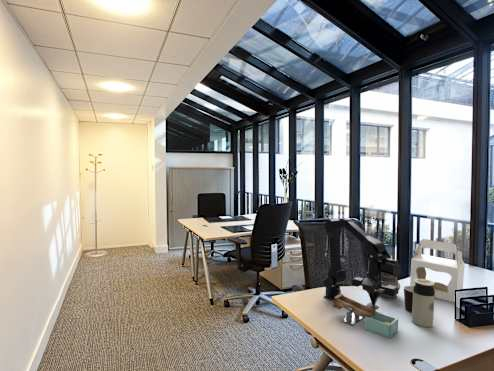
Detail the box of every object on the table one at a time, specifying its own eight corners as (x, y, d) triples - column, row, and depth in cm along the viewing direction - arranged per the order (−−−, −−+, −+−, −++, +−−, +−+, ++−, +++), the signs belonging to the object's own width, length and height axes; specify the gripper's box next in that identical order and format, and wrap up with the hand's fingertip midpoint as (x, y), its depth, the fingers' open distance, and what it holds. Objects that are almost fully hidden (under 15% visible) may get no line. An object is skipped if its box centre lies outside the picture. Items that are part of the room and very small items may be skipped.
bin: (364, 329, 131) (365, 317, 131) (373, 322, 137) (373, 310, 137) (389, 338, 124) (390, 325, 124) (397, 330, 130) (398, 318, 130)
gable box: (463, 296, 169) (466, 243, 167) (456, 303, 159) (460, 247, 158) (417, 284, 185) (419, 236, 183) (409, 290, 175) (411, 239, 174)
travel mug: (407, 320, 140) (409, 279, 139) (421, 317, 143) (423, 277, 142) (423, 328, 132) (425, 285, 131) (437, 325, 135) (439, 283, 134)
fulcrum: (341, 321, 137) (342, 307, 136) (353, 313, 145) (353, 299, 144) (352, 326, 133) (353, 310, 133) (364, 317, 141) (364, 303, 141)
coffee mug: (412, 315, 145) (413, 293, 144) (398, 307, 153) (399, 286, 152) (433, 312, 148) (434, 291, 147) (418, 305, 156) (419, 284, 155)
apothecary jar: (376, 298, 163) (377, 263, 162) (372, 290, 174) (374, 257, 173) (402, 301, 160) (404, 265, 159) (397, 292, 171) (398, 259, 170)
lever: (332, 307, 142) (334, 297, 141) (347, 298, 153) (349, 288, 152) (367, 324, 131) (369, 314, 131) (381, 313, 142) (383, 303, 141)
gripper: (346, 269, 142) (345, 303, 143) (390, 280, 130) (388, 317, 130) (357, 264, 150) (356, 297, 151) (399, 273, 138) (398, 309, 138)
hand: (373, 305), depth 143 cm, fingers closed
